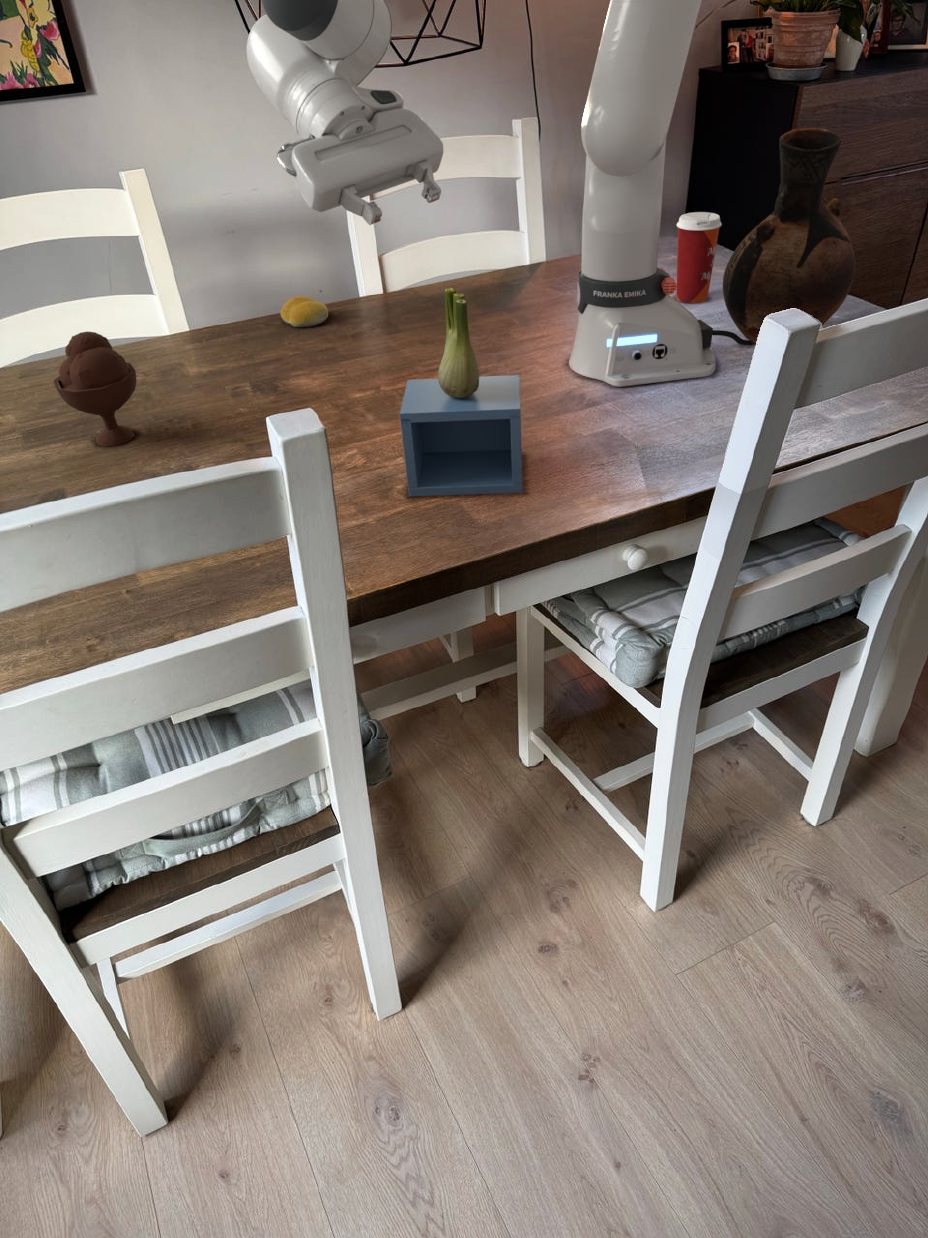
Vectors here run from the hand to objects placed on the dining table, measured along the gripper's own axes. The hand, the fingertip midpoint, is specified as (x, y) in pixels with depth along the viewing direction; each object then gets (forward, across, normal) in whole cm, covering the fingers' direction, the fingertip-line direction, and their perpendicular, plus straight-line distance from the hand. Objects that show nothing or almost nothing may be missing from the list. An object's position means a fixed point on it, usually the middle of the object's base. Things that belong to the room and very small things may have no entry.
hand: (406, 207), depth 104 cm
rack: (+29, -8, +14) cm, 33 cm away
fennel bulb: (+22, -8, +6) cm, 24 cm away
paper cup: (+16, +65, +30) cm, 73 cm away
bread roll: (-27, +12, +54) cm, 62 cm away
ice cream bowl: (-11, -35, +40) cm, 54 cm away
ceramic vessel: (+35, +56, +16) cm, 68 cm away
